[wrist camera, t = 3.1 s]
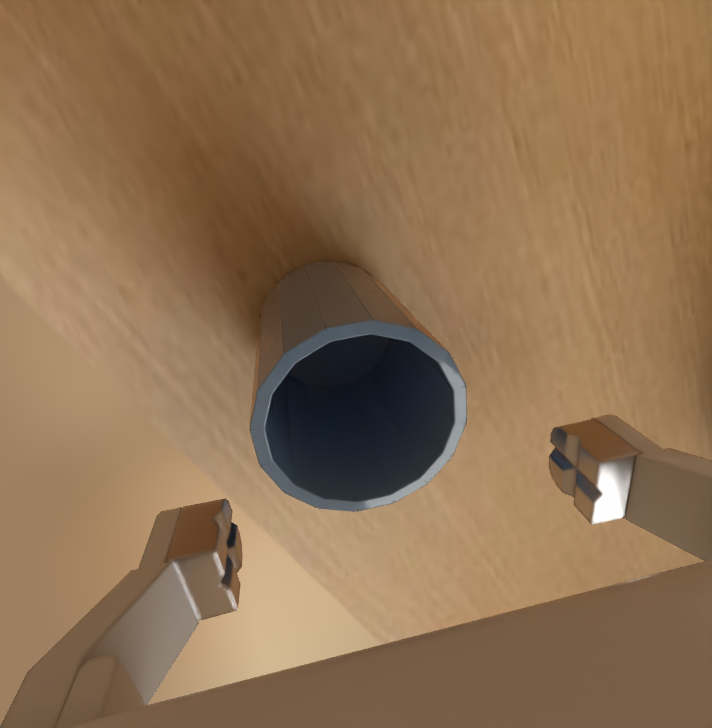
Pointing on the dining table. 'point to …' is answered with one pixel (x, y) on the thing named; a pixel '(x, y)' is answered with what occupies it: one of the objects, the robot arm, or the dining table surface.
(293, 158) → the dining table surface
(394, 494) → the cup
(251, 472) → the dining table surface
